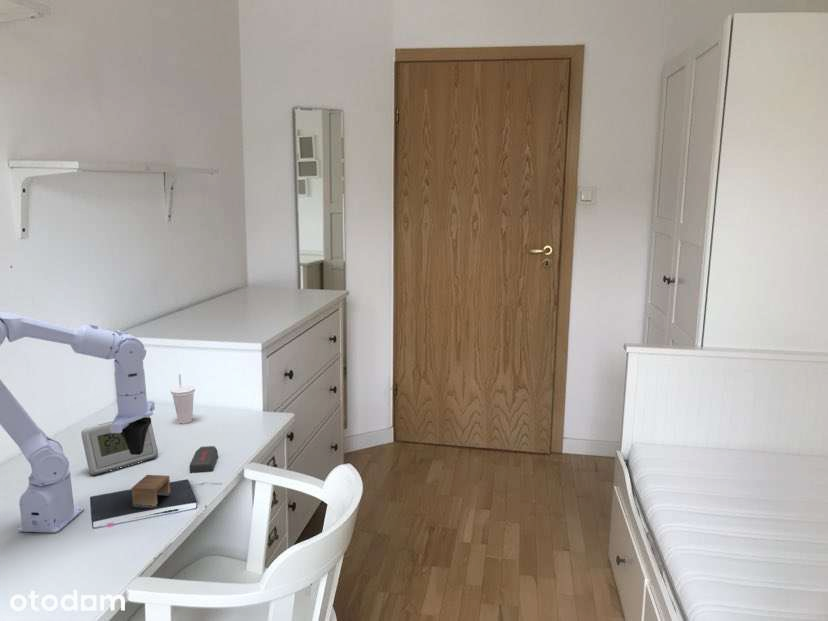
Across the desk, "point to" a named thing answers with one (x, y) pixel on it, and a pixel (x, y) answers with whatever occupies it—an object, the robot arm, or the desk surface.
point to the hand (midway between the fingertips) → (136, 453)
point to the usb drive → (204, 459)
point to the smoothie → (183, 402)
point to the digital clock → (113, 449)
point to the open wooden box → (150, 489)
